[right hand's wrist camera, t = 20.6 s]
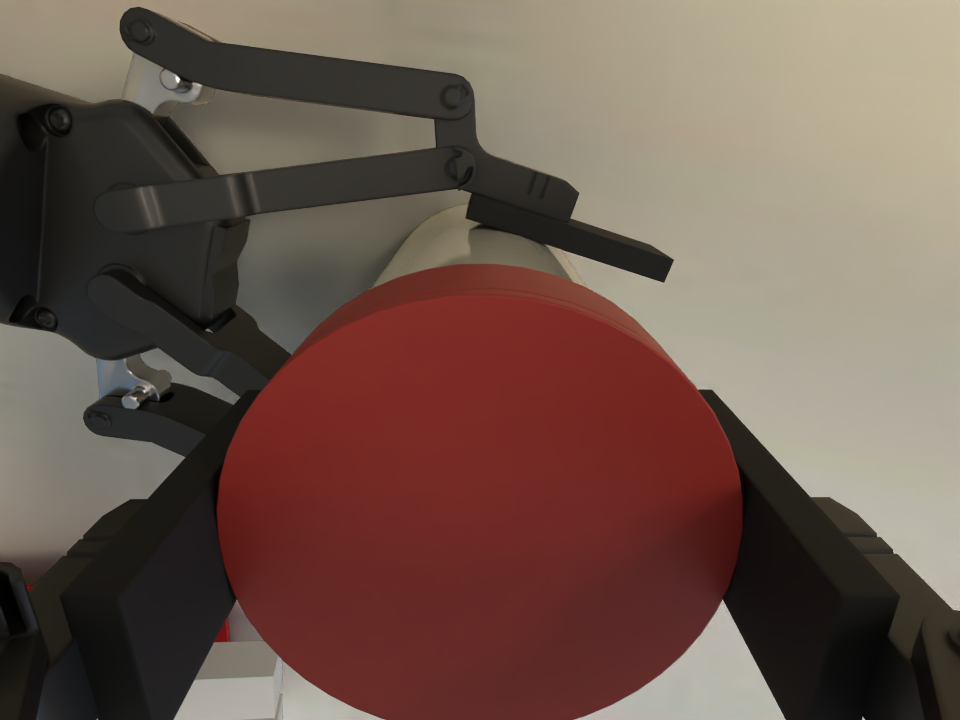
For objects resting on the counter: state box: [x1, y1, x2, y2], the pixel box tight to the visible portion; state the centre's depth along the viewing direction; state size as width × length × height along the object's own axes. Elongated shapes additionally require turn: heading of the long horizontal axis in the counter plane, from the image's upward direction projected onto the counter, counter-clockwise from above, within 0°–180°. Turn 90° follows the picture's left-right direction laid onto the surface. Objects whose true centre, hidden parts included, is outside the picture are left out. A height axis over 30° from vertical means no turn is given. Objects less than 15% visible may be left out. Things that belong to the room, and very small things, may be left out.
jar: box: [371, 204, 589, 289], centre depth 19 cm, size 8×8×17 cm
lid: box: [216, 264, 743, 720], centre depth 12 cm, size 9×9×2 cm
